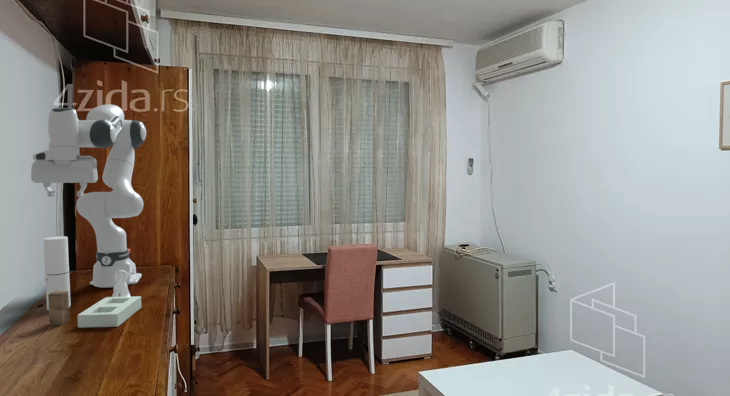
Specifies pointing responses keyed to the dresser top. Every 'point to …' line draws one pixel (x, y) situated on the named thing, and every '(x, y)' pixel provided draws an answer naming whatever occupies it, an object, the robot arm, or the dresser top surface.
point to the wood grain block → (58, 307)
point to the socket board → (109, 312)
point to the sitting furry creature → (121, 284)
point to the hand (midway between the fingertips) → (65, 196)
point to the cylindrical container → (56, 265)
